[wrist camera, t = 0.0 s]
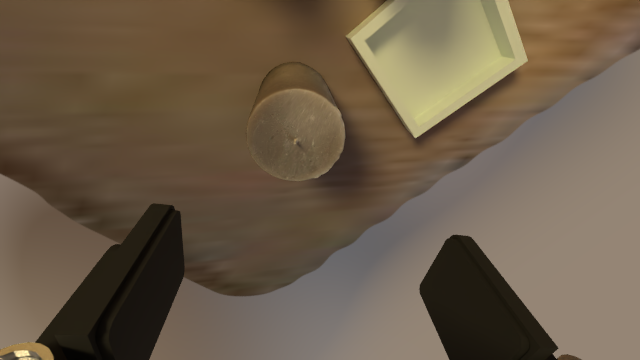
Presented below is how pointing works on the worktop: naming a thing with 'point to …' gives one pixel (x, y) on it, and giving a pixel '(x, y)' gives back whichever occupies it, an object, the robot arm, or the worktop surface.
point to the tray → (437, 54)
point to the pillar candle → (295, 124)
